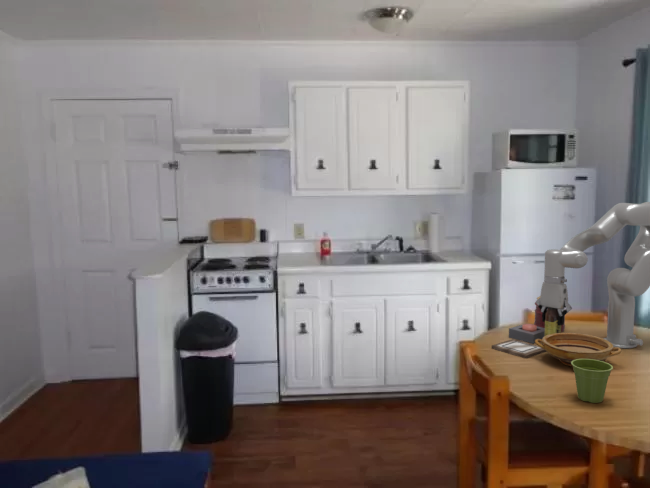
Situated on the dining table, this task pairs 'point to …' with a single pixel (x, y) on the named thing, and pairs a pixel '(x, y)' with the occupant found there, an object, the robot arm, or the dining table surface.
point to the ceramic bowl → (577, 347)
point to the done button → (529, 327)
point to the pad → (519, 348)
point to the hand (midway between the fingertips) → (552, 322)
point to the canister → (538, 318)
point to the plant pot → (591, 379)
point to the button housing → (526, 334)
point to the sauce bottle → (552, 322)
